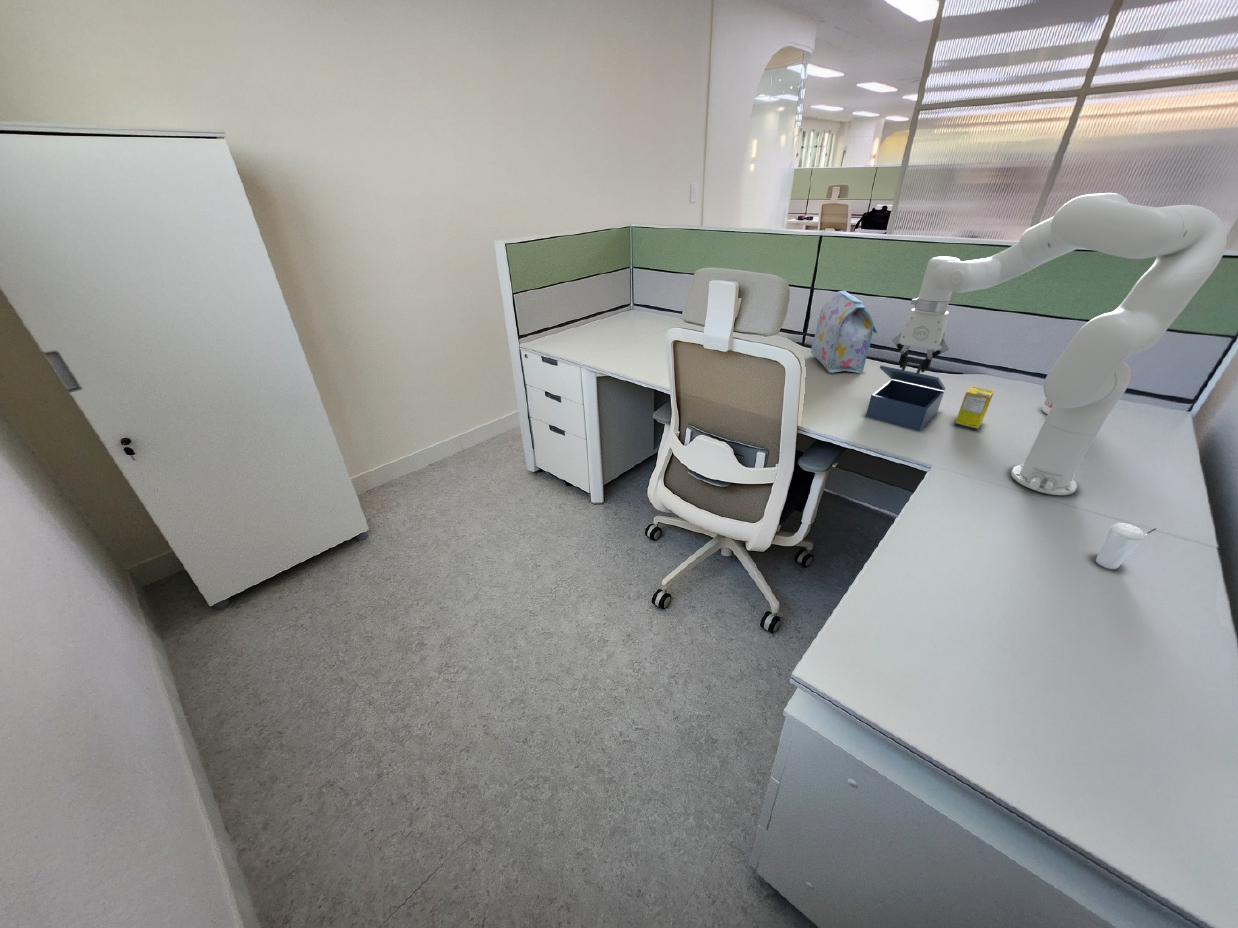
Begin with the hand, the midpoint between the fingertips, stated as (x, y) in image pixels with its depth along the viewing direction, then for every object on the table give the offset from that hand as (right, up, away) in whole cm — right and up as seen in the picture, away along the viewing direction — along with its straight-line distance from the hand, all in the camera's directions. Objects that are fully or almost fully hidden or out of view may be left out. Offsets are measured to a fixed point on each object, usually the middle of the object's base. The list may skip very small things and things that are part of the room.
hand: (912, 368), depth 141 cm
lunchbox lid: (+3, -2, +5) cm, 6 cm away
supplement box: (+19, -17, +3) cm, 25 cm away
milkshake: (+9, -48, -48) cm, 69 cm away
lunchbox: (+3, -13, +11) cm, 17 cm away
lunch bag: (+1, +11, +51) cm, 52 cm away
